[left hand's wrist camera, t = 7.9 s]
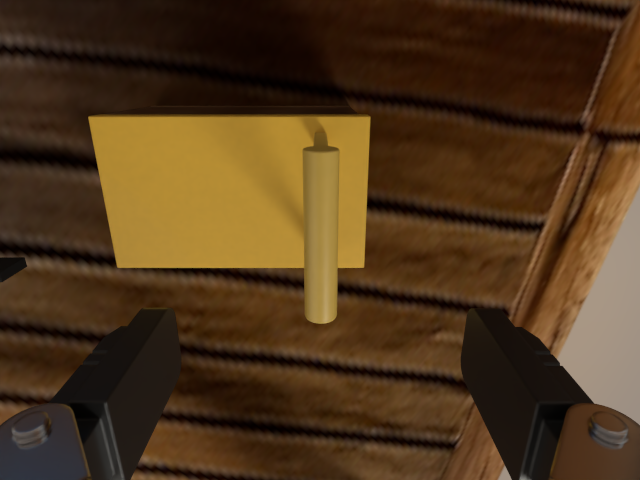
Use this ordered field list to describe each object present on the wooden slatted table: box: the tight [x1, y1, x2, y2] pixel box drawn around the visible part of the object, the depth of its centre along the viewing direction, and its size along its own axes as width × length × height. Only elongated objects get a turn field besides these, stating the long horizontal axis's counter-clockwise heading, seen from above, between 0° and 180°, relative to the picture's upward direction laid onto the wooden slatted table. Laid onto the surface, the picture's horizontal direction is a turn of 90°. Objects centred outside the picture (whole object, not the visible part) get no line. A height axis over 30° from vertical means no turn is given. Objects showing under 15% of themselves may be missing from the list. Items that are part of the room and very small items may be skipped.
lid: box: [88, 115, 370, 323], centre depth 22 cm, size 16×9×9 cm, turn 90°
